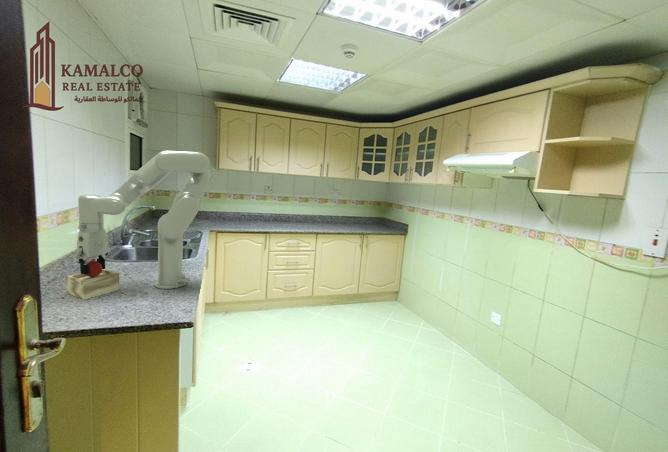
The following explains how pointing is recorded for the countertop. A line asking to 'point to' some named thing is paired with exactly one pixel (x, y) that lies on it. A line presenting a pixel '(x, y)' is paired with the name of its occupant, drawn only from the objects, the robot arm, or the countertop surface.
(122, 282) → the countertop surface
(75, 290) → the birch box
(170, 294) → the countertop surface
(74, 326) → the countertop surface
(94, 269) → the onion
